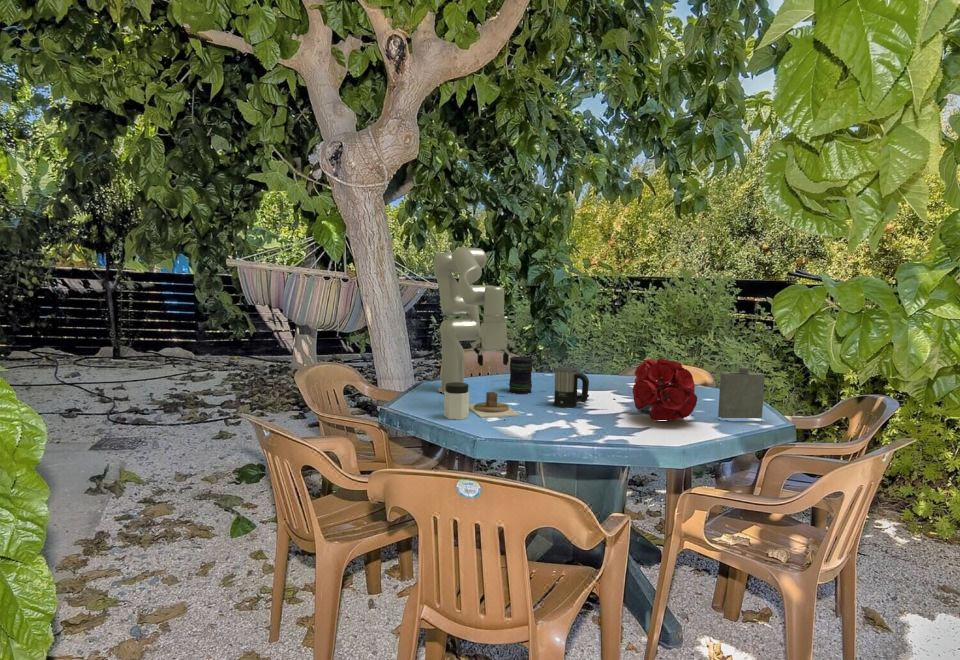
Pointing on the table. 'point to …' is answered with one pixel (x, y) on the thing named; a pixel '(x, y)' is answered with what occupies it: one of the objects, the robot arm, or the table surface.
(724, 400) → the hip flask
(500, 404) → the lid
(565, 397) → the milk frother
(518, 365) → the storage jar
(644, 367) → the bouquet
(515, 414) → the placemat
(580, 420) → the table surface
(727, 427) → the table surface
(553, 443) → the table surface
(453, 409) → the jar
